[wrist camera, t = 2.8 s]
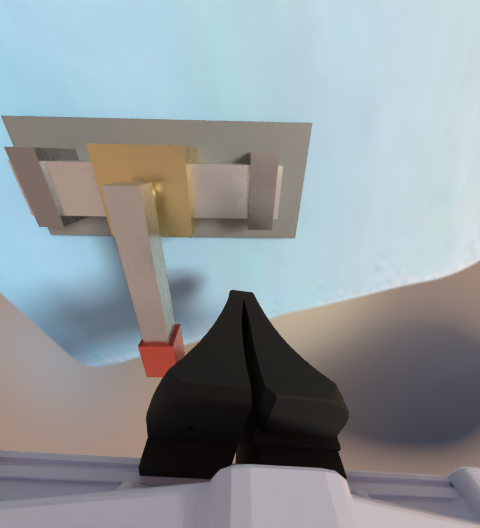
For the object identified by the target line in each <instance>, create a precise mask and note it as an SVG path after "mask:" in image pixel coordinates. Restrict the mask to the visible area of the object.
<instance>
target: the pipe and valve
mask: <svg viewBox="0 0 480 528" xmlns="http://www.w3.org/2000/svg"><path fill="white" fill-rule="evenodd" d="M86 145H87V149H88V152H89V156H90V160H79V158H78V155H77V152H76V149H66V148H36V147H4V148H5V150H6V152H7V155H8V157H9V159H10V160H8V162H9V164H10V166H11V168H12V171H13V173H14V175H15V177H16V180H17V182H18V184H19V186H20V189H21V191H22V193H23V195H24V198H25V200H26V202H27V204H28V207H29V209H30V211H31V213H32V215H34V216H35V218H36V221H37V223H38V225H39V227H65V226H67V225H70V224H72V223H75V222H77V221H79V220H82V219H84V218H87V217H89V216H106V217H107V220H108V224H109V228H110V231H111V235H112V236H114V233H113V230H112V226H111V222H110V219H109V215H108V211H107V208H106V204H105V201H104V197H103V193H102V190H101V185H105V184H109V183H114V182H118V181H122V182H134V181H138V180H143V181H146V182H152V186H153V187H154V188H155V190H156V192H157V195H158V201H157V204H156V211H157V217H158V223H159V229H160V235H161V237H193V235H194V233H195V231H196V230H197V228H198V226H199V224H200V222H201V221H202V219H203V218H234V219H247V225H248V230H272V225H273V219H278V211H279V201H280V191H281V182H282V172H283V166H281V165H278V161H279V153H271V152H248V163H214V162H199V154H198V148H197V147H190V146H184V145H140V144H94V143H86Z"/></svg>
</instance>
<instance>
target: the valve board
mask: <svg viewBox="0 0 480 528" xmlns="http://www.w3.org/2000/svg"><path fill="white" fill-rule="evenodd" d="M1 117H2V120H3V122H4V124H5V127H6V129H7V131H8V134H9V136H10V139H11V141H12V143H13V146H14V147H36V148H66V149H76V152H77V155H78V158H79V160H90V156H89V152H88V149H87V145H86V143H94V144H140V145H184V146H190V147H197V148H198V154H199V162H214V163H248V152H271V153H279V161H278V165H281V166H283V172H282V182H281V191H280V201H279V211H278V219H273V225H272V230H248V225H247V219H234V218H203V219H202V221H201V222H200V224H199V226H198V228H197V230H196V231H195V233H194V235H193V237H241V238H295V235H296V228H297V221H298V215H299V208H300V201H301V194H302V188H303V181H304V174H305V168H306V161H307V154H308V148H309V141H310V134H311V127H312V123H288V122H246V121H204V120H162V119H120V118H78V117H36V116H1ZM48 229H49V231H50V234H51V235H105V236H112V235H111V231H110V228H109V224H108V220H107V217H106V216H89V217H87V218H84V219H82V220H79V221H77V222H75V223H72V224H70V225H67V226H65V227H48Z"/></svg>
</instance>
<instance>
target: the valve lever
mask: <svg viewBox="0 0 480 528" xmlns="http://www.w3.org/2000/svg"><path fill="white" fill-rule="evenodd" d="M101 190H102V193H103V197H104V201H105V204H106V208H107V211H108V215H109V219H110V222H111V226H112V230H113V233H114V237H115V241H116V244H117V248H118V252H119V255H120V259H121V262H122V266H123V270H124V273H125V277H126V281H127V284H128V288H129V292H130V295H131V299H132V303H133V306H134V310H135V313H136V317H137V321H138V324H139V328H140V332H141V335H142V340H141V342H140V344H139V346H138V348H139V351H140V355H141V358H142V361H143V365H144V368H145V371H146V375H147V377H164V375H165V374H166V372H167V371H168V369H169V368H171V367H172V366H173V365H174V364H176V363H177V362H178V361H179V360H181V359H182V358H183V357H184V354H185V352H184V346H183V339H182V333H181V326H180V324H175V320H174V314H173V308H172V302H171V296H170V290H169V283H168V277H167V271H166V265H165V259H164V253H163V247H162V241H161V235H160V229H159V223H158V217H157V211H156V204H157V201H158V195H157V192H156V190H155V188H154V187H153V186H152V182H146V181H143V180H138V181H134V182H122V181H118V182H114V183H109V184H105V185H101Z"/></svg>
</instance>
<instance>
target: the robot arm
mask: <svg viewBox="0 0 480 528" xmlns="http://www.w3.org/2000/svg"><path fill="white" fill-rule="evenodd" d="M348 418H349V411H348V409H347V406H346V404H345V402H344V399H343V397H342V395H341V393H340V391H339V389H338V387H337V385H336V384H335V383H334V382H332V381H331V380H330V379H328V378H327V377H326V376H324V375H323V374H321V373H320V372H319V371H317V370H316V369H315V368H314V367H312V366H311V365H310V364H309V363H308V362H306V361H305V360H304V359H303V358H302V357H301V356H300V355H299V354H297V353H296V352H295V351H294V350H293V349H292V348H291V347H290V346H289V345H288V344H287V343H286V341H285V340H284V339H283V338H282V337H281V336H280V335H279V333H278V332H277V331H276V330H275V328H274V327H273V325H272V324H271V323H270V321H269V320H268V318H267V317H266V315H265V313H264V312H263V310H262V309H261V307H260V305H259V303H258V301H257V300H256V298H255V296H254V294H253V293H252V292H245V291H237V290H231V291H230V293H229V298H228V300H227V303H226V305H225V307H224V309H223V311H222V313H221V314H220V316H219V317H218V319H217V321H216V322H215V323H214V325H213V326H212V328H211V329H210V330H209V331H208V333H207V334H206V335H205V336H204V337H203V338H202V340H201V341H200V342H199V343H198V344H197V345H196V346H195V347H194V348H193V349H192V350H191V351H190V352H189V353H187V354H186V355H185V356H184V357H183V358H182V359H181V360H179V361H178V362H177V363H176V364H174V365H173V366H172V367H171V368H169V369H168V371H167V372H166V374H165V375H164V377H163V378H162V380H161V382H160V384H159V385H158V387H157V389H156V391H155V393H154V395H153V398H152V400H151V403H150V406H149V408H148V411H147V416H146V423H147V433H148V439H147V442H146V445H145V448H144V452H143V454H142V458H126V457H109V456H91V455H90V456H89V455H73V454H55V453H38V452H21V451H3V450H0V528H480V467H468V466H467V467H460V468H456V469H454V470H453V471H451V472H450V473H449V475H448V476H442V475H425V474H407V473H388V472H371V471H354V470H344V468H343V465H342V462H341V459H340V456H339V453H338V451H340V444H339V441H338V438H337V435H338V434H339V433H340V431H341V430H342V429H343V427H344V426H345V425H346V422H347V420H348ZM235 453H236V463H235V464H232V462H233V459H234V456H235Z"/></svg>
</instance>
